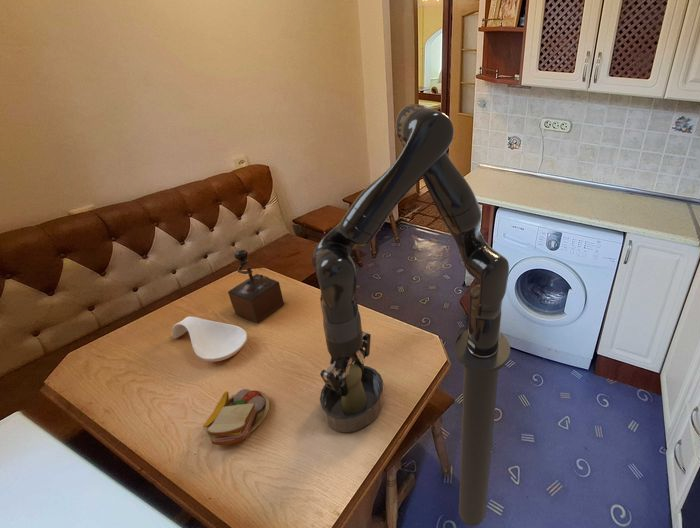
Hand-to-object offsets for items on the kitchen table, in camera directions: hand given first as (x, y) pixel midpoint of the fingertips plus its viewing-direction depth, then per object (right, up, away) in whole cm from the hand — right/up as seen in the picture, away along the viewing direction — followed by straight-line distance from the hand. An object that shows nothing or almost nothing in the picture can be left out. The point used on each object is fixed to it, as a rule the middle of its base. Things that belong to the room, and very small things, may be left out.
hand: (351, 383), depth 83 cm
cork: (0, -6, +3) cm, 7 cm away
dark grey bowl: (0, -6, +3) cm, 7 cm away
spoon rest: (-46, +2, +18) cm, 50 cm away
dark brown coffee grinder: (-42, +8, +33) cm, 54 cm away
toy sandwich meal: (-25, -8, -1) cm, 26 cm away
